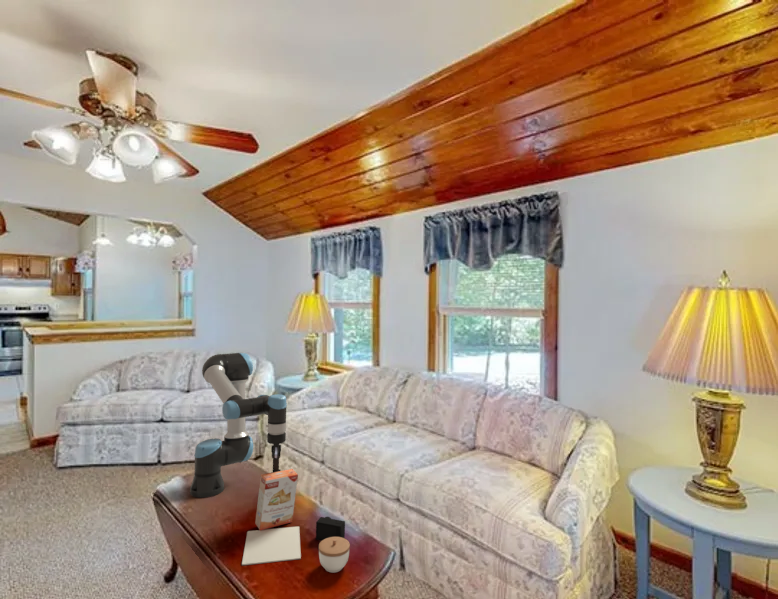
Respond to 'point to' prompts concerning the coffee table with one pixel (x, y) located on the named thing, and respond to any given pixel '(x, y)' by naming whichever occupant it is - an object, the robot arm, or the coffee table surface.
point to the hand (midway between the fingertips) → (275, 488)
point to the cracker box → (276, 499)
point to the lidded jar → (334, 553)
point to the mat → (272, 545)
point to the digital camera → (329, 528)
